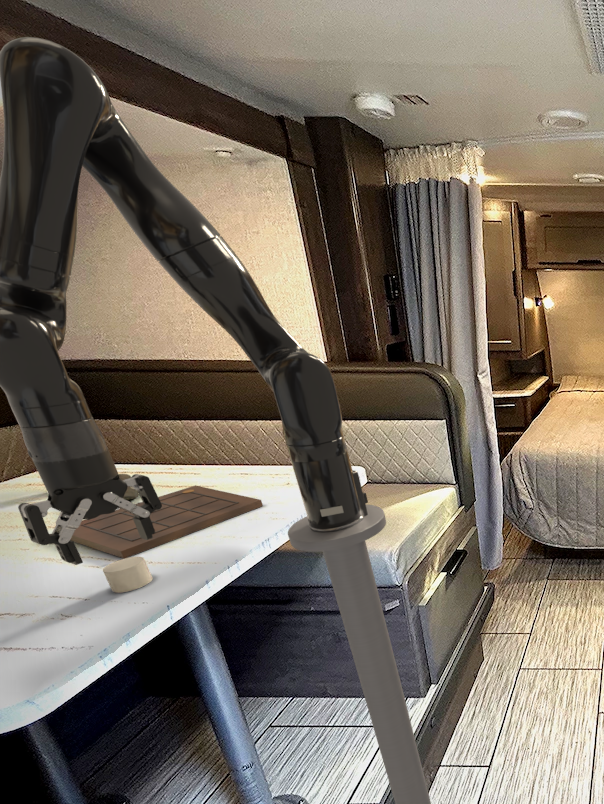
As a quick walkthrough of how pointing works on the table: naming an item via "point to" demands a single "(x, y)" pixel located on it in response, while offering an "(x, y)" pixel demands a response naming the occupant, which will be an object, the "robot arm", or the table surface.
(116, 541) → the game board
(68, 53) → the robot arm
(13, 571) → the table surface
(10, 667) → the table surface
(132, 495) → the decorative stone
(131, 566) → the game stone
